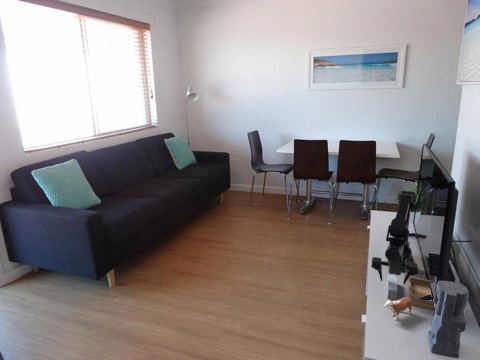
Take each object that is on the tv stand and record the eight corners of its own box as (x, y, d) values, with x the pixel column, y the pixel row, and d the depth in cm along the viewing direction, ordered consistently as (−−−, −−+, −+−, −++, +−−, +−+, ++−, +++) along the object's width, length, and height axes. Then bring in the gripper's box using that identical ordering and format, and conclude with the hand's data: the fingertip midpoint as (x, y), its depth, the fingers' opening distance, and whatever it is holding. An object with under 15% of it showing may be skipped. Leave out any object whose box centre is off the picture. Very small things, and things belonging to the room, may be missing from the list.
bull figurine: (380, 316, 142) (382, 299, 139) (406, 308, 146) (408, 291, 144) (388, 323, 138) (390, 305, 135) (415, 314, 142) (417, 297, 140)
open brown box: (407, 282, 164) (408, 276, 163) (434, 286, 160) (435, 281, 159) (410, 304, 148) (410, 298, 148) (440, 309, 144) (441, 303, 144)
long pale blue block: (387, 282, 165) (388, 274, 163) (395, 283, 163) (396, 275, 162) (387, 298, 153) (388, 290, 152) (396, 300, 152) (397, 292, 150)
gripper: (372, 256, 149) (369, 288, 154) (421, 263, 143) (417, 296, 147) (373, 244, 159) (370, 275, 164) (419, 250, 152) (415, 282, 157)
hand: (392, 282), depth 158 cm, fingers open, 9 cm apart
